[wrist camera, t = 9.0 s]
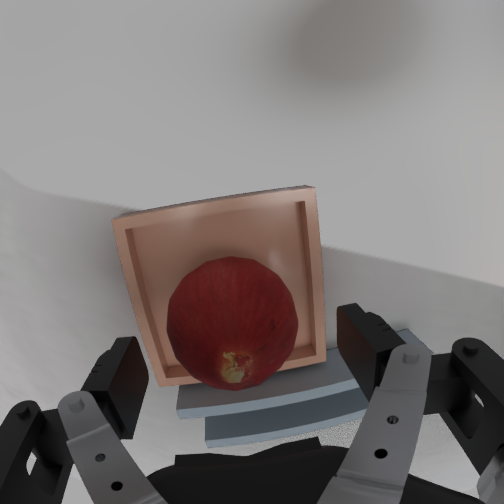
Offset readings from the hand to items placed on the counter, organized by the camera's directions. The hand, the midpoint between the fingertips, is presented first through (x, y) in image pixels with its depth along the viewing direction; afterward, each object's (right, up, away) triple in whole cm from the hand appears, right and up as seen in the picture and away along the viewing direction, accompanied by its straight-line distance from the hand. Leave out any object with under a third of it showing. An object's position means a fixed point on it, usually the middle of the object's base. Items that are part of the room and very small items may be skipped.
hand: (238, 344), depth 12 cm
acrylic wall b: (+4, -4, +8) cm, 10 cm away
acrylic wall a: (+5, -6, +9) cm, 12 cm away
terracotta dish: (-1, +2, +6) cm, 6 cm away
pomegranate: (-1, +1, +6) cm, 6 cm away
